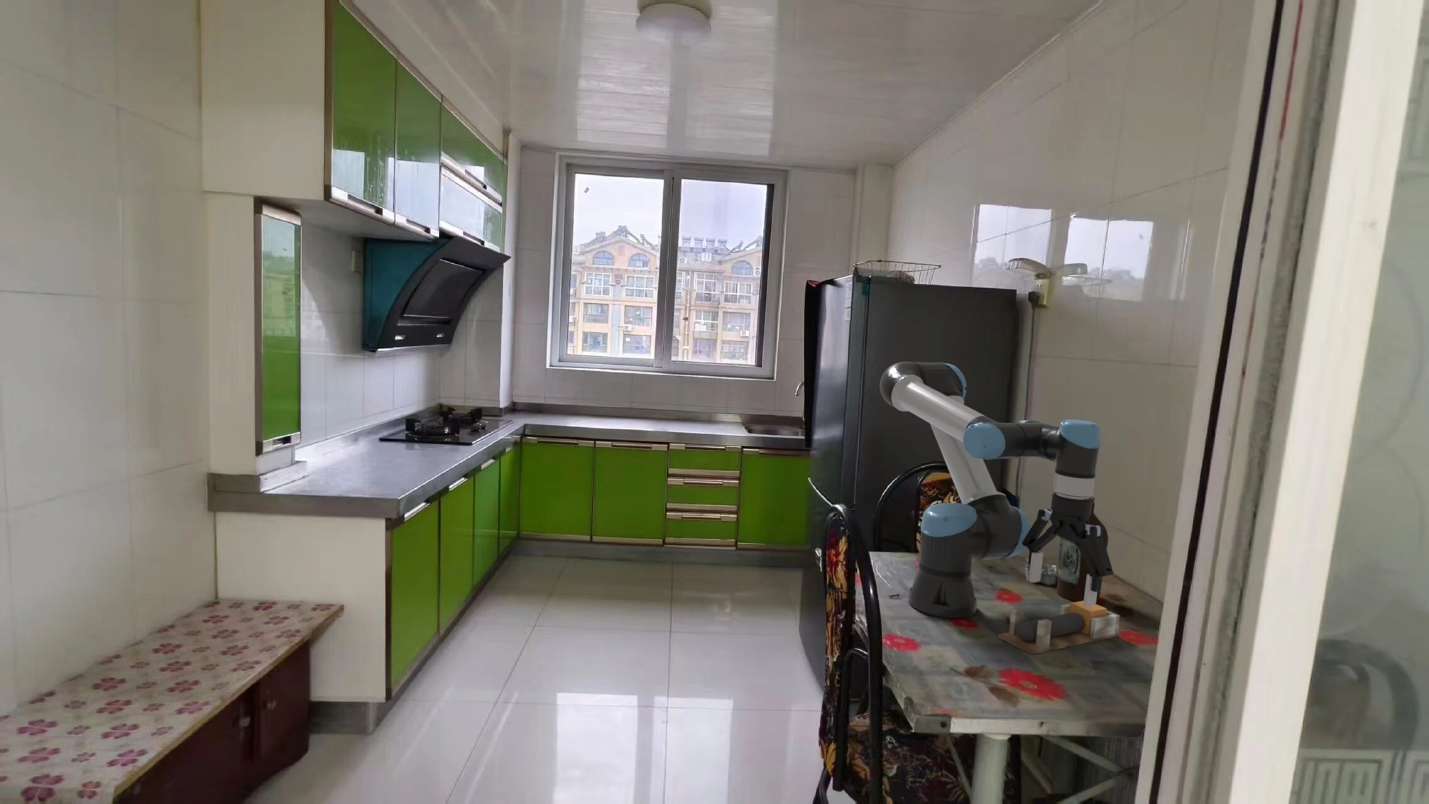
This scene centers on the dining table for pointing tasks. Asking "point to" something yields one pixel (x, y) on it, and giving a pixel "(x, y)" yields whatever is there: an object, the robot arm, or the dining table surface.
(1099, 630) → the wooden stand
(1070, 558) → the olive oil
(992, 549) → the robot arm
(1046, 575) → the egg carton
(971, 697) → the dining table surface
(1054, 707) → the dining table surface
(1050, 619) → the grey handled block hammer
